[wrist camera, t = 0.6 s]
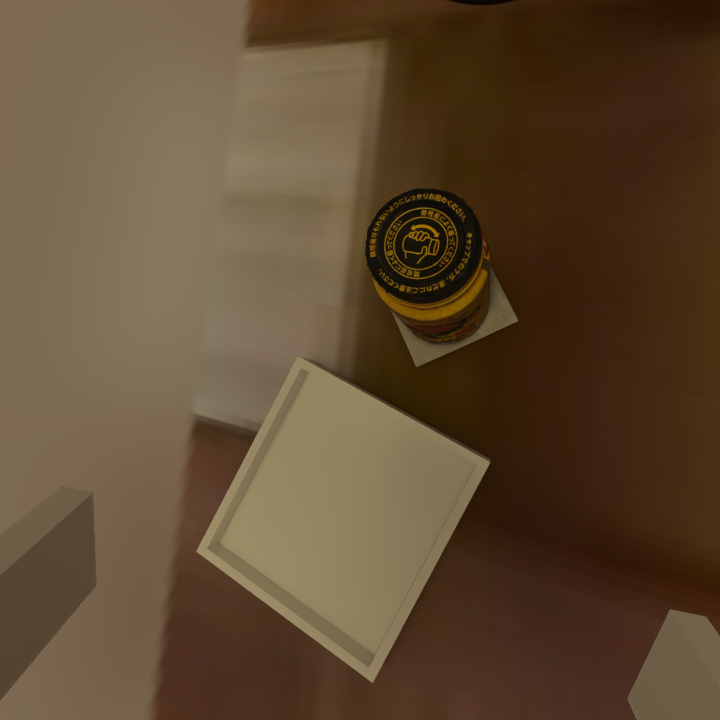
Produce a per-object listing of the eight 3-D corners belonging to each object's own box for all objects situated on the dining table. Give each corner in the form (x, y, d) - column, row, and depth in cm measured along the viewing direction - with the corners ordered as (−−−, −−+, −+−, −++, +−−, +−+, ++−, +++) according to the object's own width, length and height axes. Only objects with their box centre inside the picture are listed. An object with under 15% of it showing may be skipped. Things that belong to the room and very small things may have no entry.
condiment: (416, 367, 32) (379, 342, 21) (369, 261, 34) (310, 182, 22) (518, 321, 31) (539, 267, 19) (463, 213, 33) (453, 103, 21)
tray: (311, 360, 34) (298, 355, 32) (489, 458, 30) (490, 462, 28) (216, 541, 34) (196, 551, 32) (381, 661, 31) (372, 683, 28)
